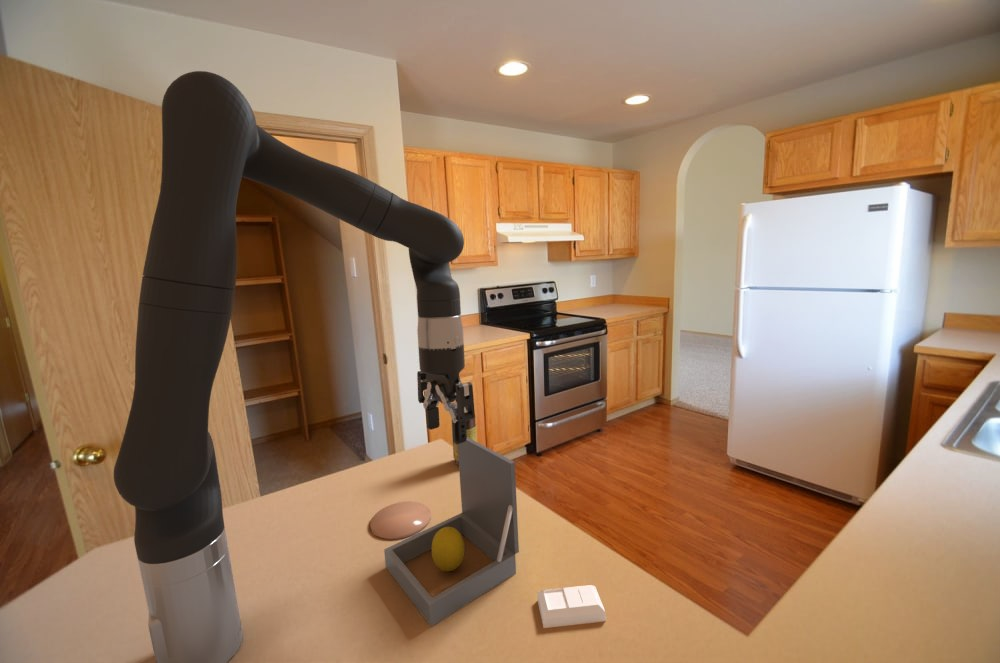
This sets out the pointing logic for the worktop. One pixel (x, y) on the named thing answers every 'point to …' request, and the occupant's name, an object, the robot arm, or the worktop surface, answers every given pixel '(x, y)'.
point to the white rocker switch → (570, 606)
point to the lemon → (448, 549)
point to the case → (468, 533)
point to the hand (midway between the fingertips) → (446, 435)
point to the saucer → (400, 520)
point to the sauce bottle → (470, 433)
